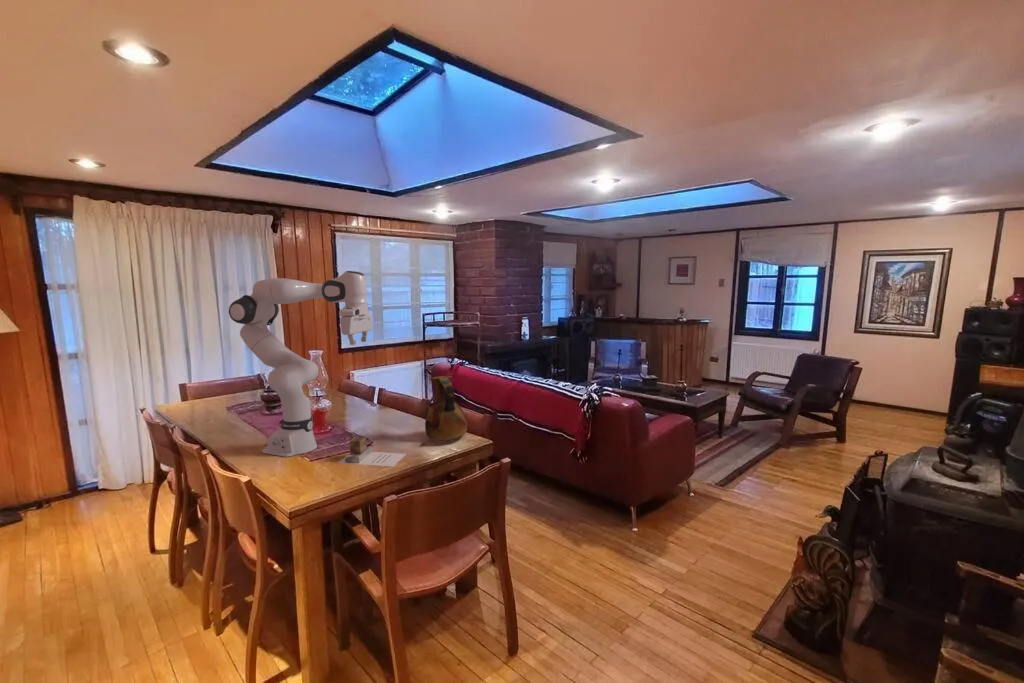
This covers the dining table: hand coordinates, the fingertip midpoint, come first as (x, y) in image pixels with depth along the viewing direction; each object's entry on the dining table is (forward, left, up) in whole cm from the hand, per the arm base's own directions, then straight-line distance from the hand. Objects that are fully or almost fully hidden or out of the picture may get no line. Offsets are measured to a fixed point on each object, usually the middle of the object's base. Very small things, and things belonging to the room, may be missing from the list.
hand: (358, 343), depth 186 cm
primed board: (+8, -9, -48) cm, 50 cm away
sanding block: (+2, -9, -46) cm, 47 cm away
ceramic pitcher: (+30, +22, -48) cm, 61 cm away
